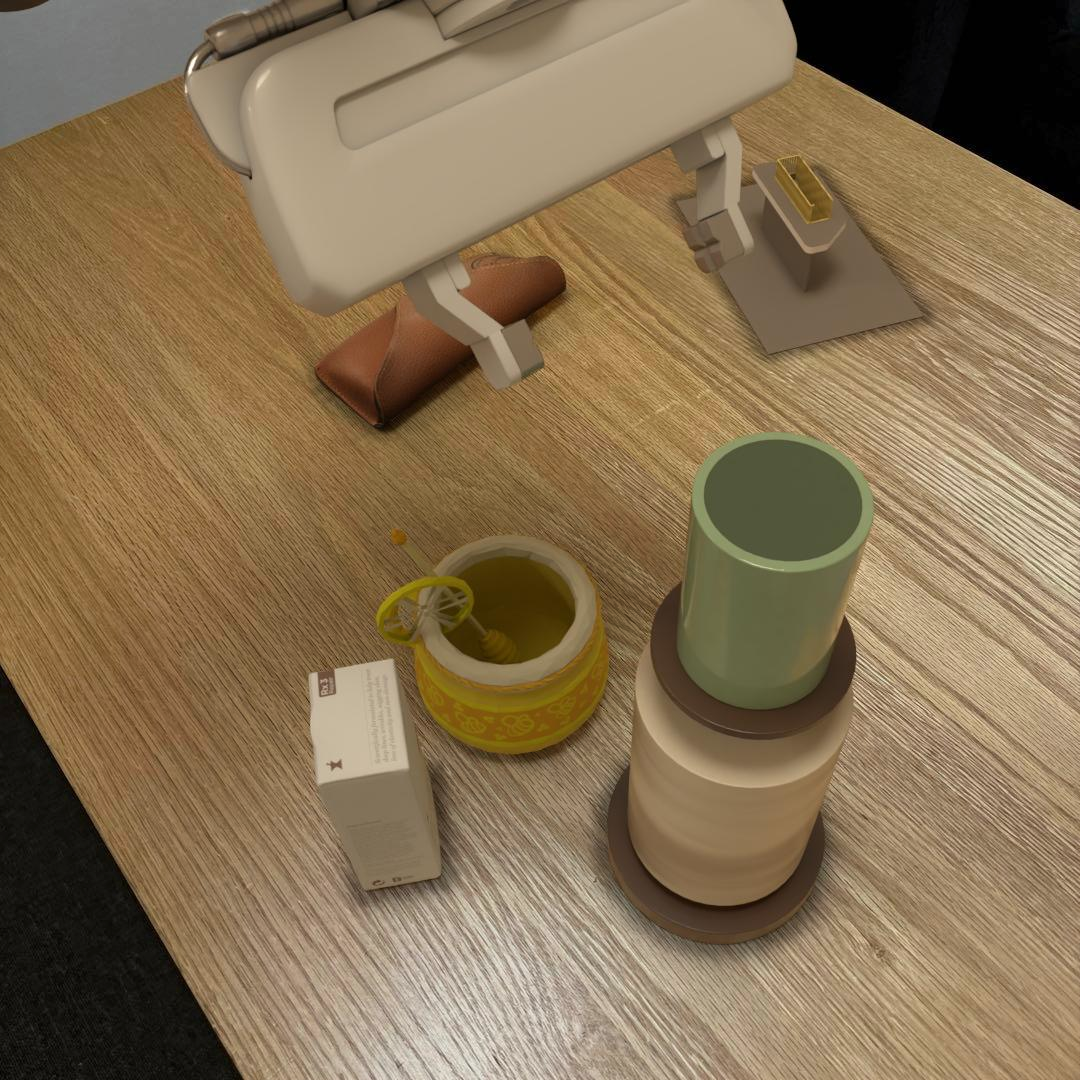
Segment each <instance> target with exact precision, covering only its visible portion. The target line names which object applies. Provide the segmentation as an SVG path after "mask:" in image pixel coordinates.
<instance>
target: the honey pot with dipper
mask: <svg viewBox="0 0 1080 1080" xmlns="http://www.w3.org/2000/svg"><path fill="white" fill-rule="evenodd" d="M390 536H391V538H390V539H391V542H392V543H393V544H395V545H399V546H401V547H402V548H403V549H404V550H405V551H406V552H407V554H408V555H409V556H410V557H411V558H412V560H414V561H415V562H416V564H417V565H418V566H419V567H420V569H421V570H422V571H423V572H424V573H425V574H426V575H425V576H424V577H423V578H419V579H416V580H413V581H411V582H409V583H407V584H405V585H404V586H401V587H400V588H398V589H397V590H395V591H393V592H391V594H390V595H388V596H387V597H386V599H385V600H384V601H383V602H382V603H381V605H379V608H378V611H377V613H376V615H375V621H376V623H375V624H376V626H377V629H378V631H379V633H380V635H381V636H382V637H383V639H384V640H386V641H387V642H389V643H392V644H399V645H404V646H407V647H409V648H412V649H414V650H413V653H414V654H413V655H414V672H415V673H414V674H415V679H416V683H417V687H418V691H419V695H420V697H421V699H422V701H423V705H424V707H425V708H426V709H427V711H428V712H429V714H430V715H431V717H432V718H433V720H434V721H435V722H436V723H437V724H438V725H439V726H440V727H442V728H443V729H444V730H445V731H446V732H447V733H448V734H449V735H450V736H452V737H453V738H455V739H457V740H458V741H460V742H462V743H464V744H465V745H467V746H470V747H473V748H476V749H479V750H481V751H484V752H486V753H493V754H504V755H505V754H506V755H517V754H519V755H520V754H526V753H531V752H538V751H541V750H543V749H546V748H548V747H550V746H554V745H555V744H558V743H560V742H562V741H563V740H565V739H566V738H568V737H569V736H570V735H572V734H573V733H575V732H576V731H578V730H579V728H580V727H582V725H583V724H584V723H585V722H587V720H588V719H590V717H591V716H592V715H593V714H594V712H595V711H596V708H597V707H598V705H599V703H600V701H602V698H603V697H604V694H605V689H606V685H607V681H608V677H609V671H610V649H609V644H608V640H607V639H608V638H607V634H606V629H605V626H604V620H603V616H602V602H601V598H600V597H601V596H600V595H599V592H598V591H599V590H598V588H597V586H596V582H595V580H594V578H593V577H592V573H591V572H590V571H589V569H588V568H587V567H586V566H585V565H584V563H582V562H581V560H580V559H578V558H577V557H575V556H574V555H573V554H572V553H570V552H568V550H567V549H565V548H564V547H561V546H560V545H559V544H557V543H554V542H552V541H550V540H546V539H543V538H540V537H535V536H531V535H523V534H512V533H507V534H504V533H501V534H496V535H491V536H490V535H489V536H486V537H481V538H478V539H476V540H472V541H468V542H466V543H464V544H462V545H459V546H458V547H456V548H454V549H453V550H450V551H449V552H448V554H446V555H444V556H443V557H442V558H441V559H440V560H439V561H438V562H437V563H435V564H434V566H433V567H432V568H431V566H430V565H429V564H428V563H427V562H426V560H425V559H424V558H423V557H422V556H421V555H420V554H419V553H418V552H417V550H416V549H415V548H414V547H413V546H412V544H411V543H410V542H409V541H408V536H407V534H406V532H405V531H404V530H403V529H399V528H393V529H392V530H391V531H390ZM400 607H403V608H406V609H410V610H412V611H408V612H405V613H402V614H399V609H400ZM412 613H413V614H412ZM411 614H412V618H410V619H407V620H403V621H402V620H401V618H404V617H405V616H408V615H411ZM409 622H412V626H411V627H410V629H408V628H406V627H404V625H406V624H407V623H409Z"/></svg>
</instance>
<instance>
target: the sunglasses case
mask: <svg viewBox="0 0 1080 1080" xmlns="http://www.w3.org/2000/svg"><path fill="white" fill-rule="evenodd" d="M462 263H463V265H464V267H465V269H466V271H467V273H468V275H469V278H470V280H471V284H470V286H468V287H466V288H465V289H463V290H461V291H459V292H458V293H459V294H460V295H461V296H463V297H464V298H465V299H467V300H468V301H469V302H471V303H472V304H473V305H475V306H476V307H477V308H479V309H480V310H481V311H483V312H484V313H485V314H487V315H488V316H489V317H491V318H492V319H493V320H495V321H496V322H497V323H499V324H500V325H501V326H503V327H505V326H507V325H510V324H513V323H515V322H517V321H520V320H522V319H525V320H526V319H528V318H530V317H531V316H533V314H535V313H536V312H538V311H539V310H541V309H543V308H544V307H545V306H547V305H548V304H550V303H551V302H552V301H553V300H554V299H556V298H558V297H559V296H561V295H562V294H563V293H564V292H565V291H566V290H567V278H566V275H565V271H564V269H563V268H562V266H561V265H560V264H559V263H558V261H556V260H555V259H554V258H552V257H551V256H549V255H548V256H547V255H536V256H530V257H519V256H511V255H500V254H495V253H494V252H490V251H487V252H484V253H478V254H476V255H474V256H471V257H469V258H468V259H466V260H464V261H462ZM475 357H476V356H475V354H474V352H473V350H472V349H471V347H470V345H467V346H466V345H464V344H463V343H461V342H460V341H458V340H457V339H455V338H454V337H452V336H451V335H449V334H448V333H446V332H445V331H443V330H442V329H440V328H439V327H437V326H436V325H434V324H433V323H431V322H430V321H428V320H427V319H425V318H424V317H422V316H421V315H419V314H418V313H417V311H416V309H415V307H414V305H413V303H412V302H411V300H410V298H409V296H408V294H407V293H406V294H405V295H404V296H402V297H401V298H400V299H399V300H398V301H397V302H396V303H395V306H393V307H392V308H390V309H389V310H387V311H386V312H384V313H383V314H381V315H379V316H378V317H377V318H375V319H373V320H372V321H371V322H369V323H368V324H365V326H363V327H362V328H360V329H359V330H357V331H356V332H354V333H353V334H351V335H350V336H349V337H347V338H346V339H345V340H343V341H342V342H341V343H339V344H338V345H337V346H335V347H333V348H331V350H330V351H329V352H327V353H326V354H325V355H323V356H322V357H321V358H320V359H319V360H318V361H317V362H316V363H315V364H314V365H313V370H314V374H315V376H316V378H317V379H318V380H319V381H320V382H321V383H323V385H324V386H325V387H326V388H327V389H328V390H330V392H332V393H333V394H334V395H335V396H336V397H337V398H338V399H340V400H341V401H342V402H343V403H344V404H345V405H346V406H347V407H349V408H350V409H351V410H352V411H353V412H354V413H356V414H357V415H358V416H359V417H360V418H362V419H363V420H364V421H365V422H366V423H368V424H369V425H370V426H371V427H375V428H382V427H383V426H385V425H386V424H387V423H391V422H392V421H394V420H395V419H397V418H398V417H400V416H401V415H402V414H403V413H404V412H405V411H407V410H408V409H410V408H411V407H412V406H413V405H414V404H415V403H417V402H418V401H419V400H420V399H421V398H423V397H424V396H425V395H426V394H428V393H429V392H430V391H432V390H433V389H434V388H435V387H436V386H437V385H439V384H440V383H442V382H443V381H444V380H445V379H447V378H448V377H449V376H450V375H451V374H453V373H454V372H455V371H456V370H457V369H459V368H460V367H462V366H464V365H465V364H466V363H467V362H469V361H470V360H471V359H473V358H475Z"/></svg>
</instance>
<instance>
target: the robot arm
mask: <svg viewBox="0 0 1080 1080" xmlns="http://www.w3.org/2000/svg"><path fill="white" fill-rule="evenodd" d="M49 1H50V0H0V13H13V12H22V11H26V10H31V9H33V8H36V7H39V6H41V5H44V4H45V3H47V2H49ZM796 36H797V35H796V33H795V31H794V27H793V24H792V21H791V18H790V17H789V14H788V11H787V9H786V6H785V3H784V1H783V0H272V1H271V2H268V3H267V4H265V5H263V6H261V7H259V8H256V9H254V10H252V11H249V12H247V13H244V12H237V13H234V14H231V15H227V16H226V17H223V18H221V19H219V20H217V21H215V22H213V23H211V24H210V25H209V26H208V27H206V28H205V29H204V31H203V42H202V43H200V44H199V45H198V46H197V47H196V48H195V49H194V50H193V51H192V53H191V54H190V56H189V57H188V59H187V61H186V63H185V66H184V70H183V73H182V74H183V75H182V91H183V92H182V93H183V97H184V101H185V104H186V106H187V109H188V111H189V113H190V114H191V116H192V118H193V120H194V122H195V125H196V126H197V127H198V130H199V131H200V133H201V135H202V137H203V138H204V140H205V142H206V143H207V144H206V145H207V146H208V148H209V149H210V151H211V152H212V153H213V155H214V156H215V157H216V159H218V160H219V161H220V162H221V163H222V164H223V165H224V166H226V167H227V168H228V169H230V170H231V171H234V172H235V173H237V174H238V176H239V180H240V183H241V185H242V189H243V191H244V194H245V197H246V200H247V204H248V206H249V209H250V211H251V214H252V217H253V219H254V222H255V225H256V227H257V230H258V232H259V234H260V238H261V239H262V241H263V245H264V246H265V250H266V251H267V254H268V256H269V258H270V261H271V263H272V266H273V267H274V269H275V271H276V273H277V275H278V277H279V279H280V282H281V283H282V286H283V288H284V289H285V291H286V293H287V296H288V297H289V298H290V300H291V301H292V302H293V303H295V304H296V305H298V306H300V307H301V308H303V309H305V310H308V311H309V312H312V313H314V314H316V315H319V316H321V317H323V318H331V317H333V316H335V315H337V314H339V313H341V312H343V311H345V310H348V309H350V308H351V307H353V306H355V305H357V304H359V303H361V302H363V301H365V300H367V299H369V298H371V297H373V296H375V295H377V294H379V293H381V292H383V291H385V290H388V288H392V287H393V286H396V285H397V284H399V283H401V284H402V286H403V288H404V290H405V292H406V295H407V294H408V296H409V298H410V300H411V302H412V303H413V305H414V307H415V309H416V311H417V313H418V314H419V315H421V316H422V317H424V318H425V319H427V320H428V321H430V322H431V323H433V324H434V325H436V326H437V327H439V328H440V329H442V330H443V331H445V332H446V333H448V334H449V335H451V336H452V337H454V338H455V339H457V340H458V341H460V342H461V343H463V344H464V345H466V346H467V345H470V347H471V349H472V350H473V352H474V354H475V356H474V357H475V358H476V360H477V362H478V364H479V366H480V368H481V370H482V372H483V374H484V376H485V377H486V380H487V382H488V383H489V384H490V386H491V387H492V388H493V389H494V390H496V391H500V390H506V389H508V388H511V387H513V386H515V385H517V384H518V383H521V382H522V381H523V380H525V379H527V378H529V377H530V376H533V375H534V374H536V373H537V372H540V371H541V370H542V369H544V368H545V365H546V364H545V358H544V355H543V353H542V351H541V349H540V348H539V347H538V346H535V345H534V343H533V342H534V335H533V333H532V332H531V331H532V330H531V329H530V327H529V325H528V324H527V323H528V322H527V321H526V319H522V320H520V321H517V322H515V323H513V324H510V325H507V326H505V327H503V326H501V325H500V324H499V323H497V322H496V321H495V320H493V319H492V318H491V317H489V316H488V315H487V314H485V313H484V312H483V311H481V310H480V309H479V308H477V307H476V306H475V305H473V304H472V303H471V302H469V301H468V300H467V299H465V298H464V297H463V296H461V295H460V294H459V293H458V292H459V291H461V290H463V289H465V288H466V287H468V286H470V284H471V280H470V278H469V275H468V273H467V271H466V269H465V267H464V265H463V261H462V259H461V257H460V255H459V253H461V252H463V251H465V250H467V249H469V248H471V247H473V246H475V245H477V244H479V243H481V242H482V241H485V240H487V239H489V238H491V237H492V236H494V235H496V234H497V235H498V234H499V233H501V232H503V231H505V230H507V229H508V228H511V227H513V226H515V225H517V224H519V223H520V222H523V221H525V220H527V219H529V218H531V217H532V216H535V215H537V214H538V213H541V212H542V211H544V210H546V209H549V208H551V207H553V206H554V205H557V204H559V203H560V202H563V201H565V200H566V199H569V198H570V197H572V196H575V195H576V194H579V193H580V192H583V191H584V190H587V189H589V188H591V187H592V186H595V185H596V184H597V185H598V184H599V183H601V182H602V181H604V180H606V179H609V178H611V177H612V176H614V175H617V174H618V173H620V172H622V171H624V170H626V169H628V168H631V167H633V166H634V165H636V164H639V163H640V162H642V161H644V160H647V159H649V158H650V157H653V156H655V155H657V154H659V153H660V152H663V151H664V150H666V149H668V148H670V150H671V152H672V155H673V157H674V159H675V161H676V163H677V165H678V167H679V170H680V172H681V173H682V174H683V175H687V174H690V173H692V172H694V171H695V186H696V187H695V189H696V197H697V222H698V221H700V222H698V223H696V224H694V225H693V226H689V227H687V228H685V229H684V230H682V231H681V234H682V235H683V238H684V240H685V242H686V244H687V247H688V249H690V250H691V251H693V252H694V257H693V258H694V262H695V264H696V266H697V268H698V269H699V270H700V271H701V272H702V273H704V274H710V273H713V272H714V271H717V269H718V270H719V269H721V268H723V267H725V266H727V265H729V264H731V263H733V262H734V261H736V260H738V259H740V258H742V257H743V256H745V255H747V254H749V253H751V252H752V251H753V248H754V242H753V238H752V236H751V234H750V231H749V229H748V227H747V225H746V222H745V220H744V218H743V215H742V213H741V211H740V209H739V206H738V204H737V203H739V202H740V190H741V187H742V169H743V153H744V152H743V151H744V145H743V143H742V141H741V139H740V136H739V134H738V131H737V129H736V127H735V124H734V122H733V120H732V118H731V117H733V116H734V115H737V114H738V113H741V112H742V111H744V110H746V109H749V108H750V107H752V106H753V105H755V104H757V103H759V102H761V101H763V100H765V99H767V98H769V97H771V96H772V95H774V94H775V93H777V92H779V91H780V90H782V89H784V88H785V87H787V86H789V85H790V84H791V82H792V81H793V78H794V73H795V70H796V69H795V68H796V61H797V53H798V42H797V37H796ZM209 57H212V58H213V59H214V60H215V61H216V62H214V63H211V64H209V65H207V66H204V67H202V65H203V64H204V63H205V62H206V60H207V59H208V58H209Z"/></svg>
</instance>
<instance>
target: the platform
mask: <svg viewBox="0 0 1080 1080" xmlns="http://www.w3.org/2000/svg"><path fill="white" fill-rule="evenodd" d="M776 161H777V162H775V161H767V162H762V163H757V164H754V166H753V167H752V173H751V176H752V178H753V179H754V180H755V182H756V183H754V184H749V185H745V186H741V190H740V202H739V203H737V204H738V206H739V209H740V211H741V213H742V215H743V218H744V220H745V222H746V225H747V227H748V229H749V231H750V234H751V236H752V238H753V242H754V248H753V251H752V252H751V253H749V254H747V255H745V256H743V257H742V258H740V259H738V260H736V261H734V262H733V263H731V264H729V265H727V266H725V267H723V268H721V269H719V270H718V269H717V270H716V271H717V273H718V275H719V276H720V277H721V279H722V280H723V282H724V284H725V286H726V287H727V289H728V290H729V293H730V294H731V296H732V297H733V299H734V301H735V302H736V304H737V306H739V309H740V310H741V312H742V313H743V316H744V317H745V319H746V320H747V322H748V324H749V325H750V328H752V330H753V332H754V333H755V335H756V337H757V338H758V340H759V342H760V343H761V345H762V346H763V348H764V350H765V352H766V353H767V355H772V354H776V353H780V352H783V351H789V350H792V349H796V348H800V347H804V346H807V345H812V344H816V343H820V342H824V341H829V340H832V339H836V338H840V337H845V336H849V335H853V334H857V333H861V332H865V331H869V330H873V329H877V328H881V327H886V326H891V325H893V324H897V323H902V322H906V321H909V320H914V319H918V318H923V317H925V315H924V314H923V313H922V311H921V310H920V308H919V307H918V305H916V303H915V302H914V300H913V298H911V296H910V295H909V294H908V292H907V291H906V289H905V288H904V287H903V285H902V284H901V283H900V282H899V280H898V279H897V277H896V276H895V275H894V274H893V272H892V271H891V269H890V268H889V267H888V265H887V264H886V262H884V260H883V258H882V257H881V256H880V254H879V253H878V252H877V250H876V249H875V248H874V247H873V244H871V242H870V241H869V240H868V238H867V237H866V236H865V234H864V233H863V232H862V230H861V229H860V228H859V226H858V225H857V224H856V222H855V221H854V220H853V218H852V216H851V215H850V214H849V213H848V211H847V210H846V208H845V207H844V206H843V204H841V202H840V201H839V199H838V198H837V196H836V195H835V194H834V193H833V191H832V190H831V188H830V187H829V186H828V184H827V183H826V182H825V180H824V179H823V178H822V176H821V175H820V173H819V172H818V171H817V170H812V169H811V167H810V166H809V165H808V163H807V162H806V161H805V159H804V158H803V157H802V156H801V154H800V153H799V154H794V155H789V156H786V157H782V158H777V159H776ZM675 203H676V205H677V207H678V208H679V210H680V211H681V213H682V214H683V217H684V218H685V220H686V221H687V224H689V227H691V226H693V225H694V224H696V223H698V222H700V221H698V222H697V196H695V197H692V198H687V199H682V200H677V201H675Z"/></svg>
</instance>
